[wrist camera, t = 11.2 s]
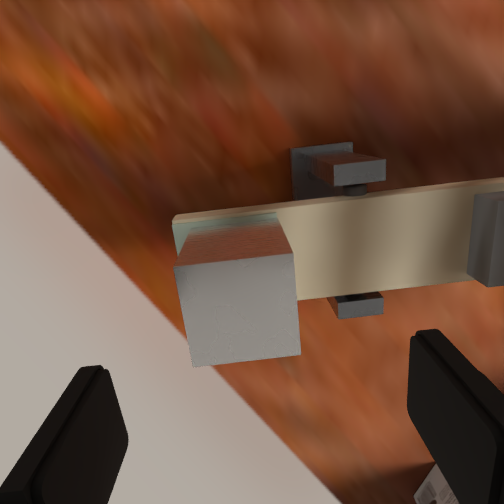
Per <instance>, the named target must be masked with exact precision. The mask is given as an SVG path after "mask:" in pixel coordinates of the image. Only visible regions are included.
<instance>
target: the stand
mask: <svg viewBox="0 0 504 504" xmlns="http://www.w3.org/2000/svg"><path fill="white" fill-rule="evenodd" d="M289 154H290V169H291V183H292V197H293V201H299V200H308V199H316V198H325V197H334V196H342V195H343V186H344V185H351V184H360V183H368V182H377V181H385V180H386V159H383V158H378V157H373V156H368V155H364V154H359V153H354V152H353V142H351V141H347V142H339V143H330V144H321V145H313V146H304V147H296V148H289ZM326 298H327V300H328V301H329V303H330V305H331V307H332V309H333V311H334V312H335V314H336V316H337V318H338V319H346V318H354V317H362V316H370V315H379V314H383V303H384V298H383V296H382V295H381V294H380V293H379V292H378V291H375V292H366V293H363V294H349V295H340V296H332V297H326Z"/></svg>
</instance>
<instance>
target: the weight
mask: <svg viewBox="0 0 504 504" xmlns="http://www.w3.org/2000/svg"><path fill="white" fill-rule="evenodd" d="M173 269H174V274H175V279H176V284H177V289H178V294H179V299H180V304H181V309H182V314H183V319H184V324H185V329H186V335H187V340H188V344H189V349H190V354H191V360H192V364H193V367H200V366H209V365H217V364H226V363H234V362H243V361H252V360H260V359H269V358H277V357H286V356H295V355H301V347H300V333H299V320H298V306H297V293H296V280H295V266H294V253H293V251H292V248H291V246H290V244H289V242H288V239H287V237H286V235H285V233H284V231H283V228H282V226H281V224H280V222H279V219H278V218H272V219H263V220H255V221H246V222H237V223H229V224H220V225H212V226H203V227H194V228H191V229H190V231H189V233H188V235H187V238H186V240H185V242H184V244H183V246H182V249H181V251H180V253H179V255H178V257H177V260H176V262H175V264H174V266H173Z"/></svg>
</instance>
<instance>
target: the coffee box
mask: <svg viewBox="0 0 504 504" xmlns="http://www.w3.org/2000/svg"><path fill="white" fill-rule="evenodd" d="M414 499H415V501H416V503H417V504H459V502H458V500H457V499H456V497H455V495H454V493H453V492H452V490H451V488H450V487H449V485H448V483H447V481H446V480H445V478H444V476H443V474H442V473H441V471H440V469H439V467H438V466H437V464H435V465H434V467H433V468H432V470H431V471H430V473H429V474H428V476H427V477H426V478H425V480H424V481H423V483H422V484H421V486H420V487H419V489H418V490H417V492H416V493H415V494H414Z"/></svg>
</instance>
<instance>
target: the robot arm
mask: <svg viewBox="0 0 504 504" xmlns="http://www.w3.org/2000/svg"><path fill="white" fill-rule="evenodd" d="M407 410H408V414H409V416H410V418H411V420H412V422H413V424H414V426H415V427H416V429H417V431H418V433H419V434H420V436H421V438H422V439H423V441H424V443H425V445H426V446H427V448H428V450H429V452H430V453H431V455H432V457H433V459H434V460H435V462H436V464H437V466H438V467H439V469H440V471H441V473H442V474H443V476H444V478H445V480H446V481H447V483H448V485H449V487H450V488H451V490H452V492H453V493H454V495H455V497H456V499H457V500H458V502H459V504H504V395H503V394H502V393H501V392H500V391H499V390H498V389H497V387H496V386H495V385H494V384H493V383H492V382H491V381H490V380H489V379H488V378H487V377H486V376H485V375H484V374H482V373H481V372H480V371H478V370H477V369H476V368H475V367H474V366H473V365H472V364H471V363H470V362H469V361H468V360H467V359H466V358H465V356H464V355H463V354H462V353H461V352H460V351H459V350H458V349H457V348H456V347H455V346H454V345H453V344H452V343H451V342H450V341H449V340H448V339H447V338H446V337H445V336H444V335H443V334H442V333H441V331H439V330H438V329H429V330H420V331H417V332H416V334H415V336H412V337H411V339H410V354H409V375H408V395H407ZM127 447H128V433H127V430H126V427H125V423H124V420H123V416H122V413H121V410H120V406H119V403H118V399H117V396H116V393H115V390H114V386H113V382H112V379H111V376H110V373H109V371H108V370H107V369H104V368H103V367H102V366H101V365H96V366H86V367H81V368H80V369H79V370H78V371H77V373H76V374H75V376H74V377H73V379H72V381H71V382H70V383H69V385H68V386H67V388H66V389H65V391H64V392H63V394H62V395H61V397H60V398H59V400H58V401H57V403H56V404H55V406H54V408H53V409H52V410H51V412H50V413H49V415H48V416H47V418H46V419H45V421H44V422H43V424H42V425H41V427H40V429H39V430H38V431H37V433H36V434H35V436H34V437H33V439H32V440H31V442H30V443H29V445H28V446H27V448H26V449H25V451H24V452H23V454H22V455H21V457H20V458H19V460H18V461H17V463H16V464H15V466H14V467H13V469H12V470H11V472H10V473H9V475H8V476H7V478H6V479H5V481H4V482H3V484H2V485H1V487H0V504H107V503H108V501H109V498H110V495H111V493H112V490H113V487H114V484H115V481H116V478H117V476H118V473H119V470H120V467H121V464H122V462H123V459H124V456H125V453H126V450H127Z"/></svg>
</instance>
